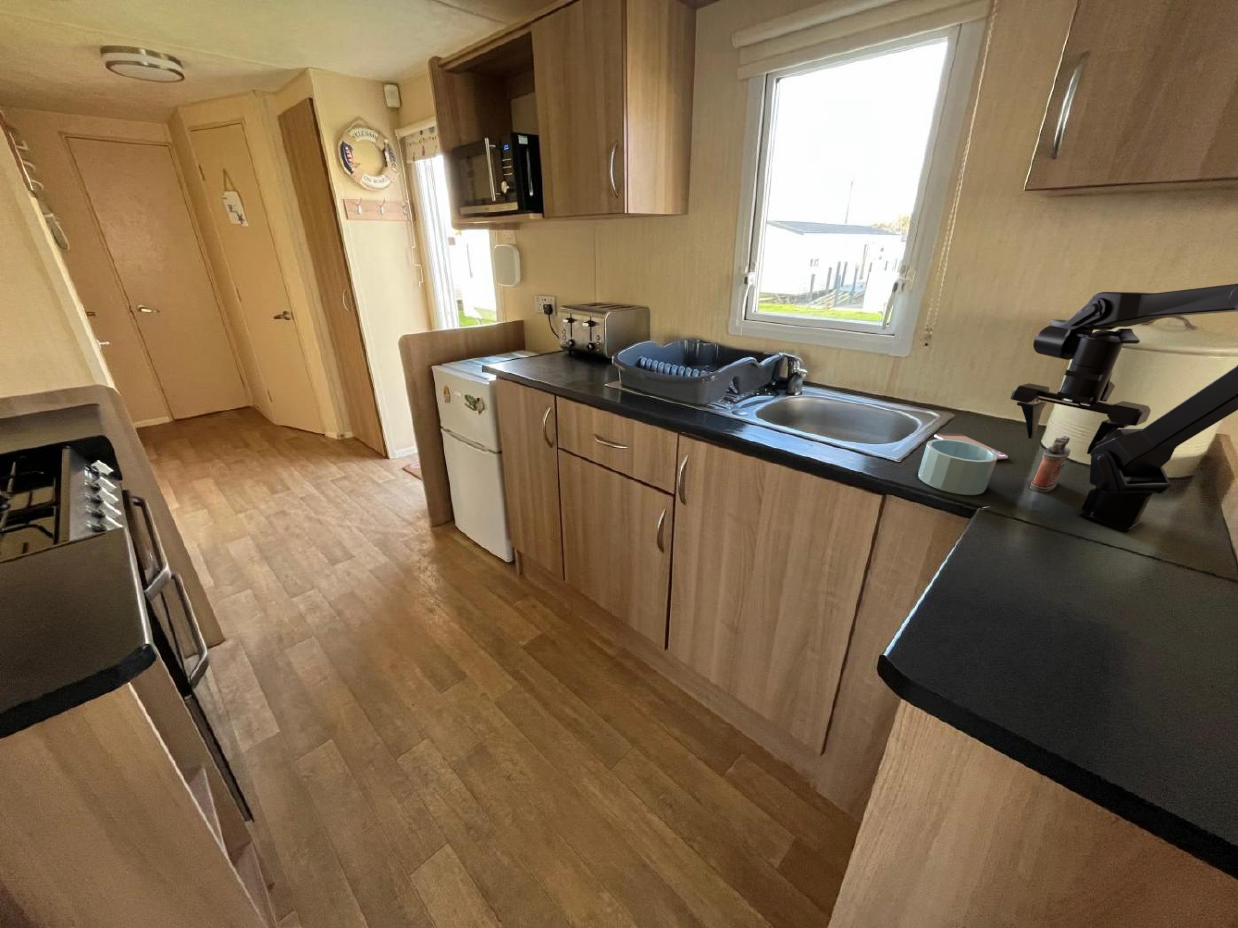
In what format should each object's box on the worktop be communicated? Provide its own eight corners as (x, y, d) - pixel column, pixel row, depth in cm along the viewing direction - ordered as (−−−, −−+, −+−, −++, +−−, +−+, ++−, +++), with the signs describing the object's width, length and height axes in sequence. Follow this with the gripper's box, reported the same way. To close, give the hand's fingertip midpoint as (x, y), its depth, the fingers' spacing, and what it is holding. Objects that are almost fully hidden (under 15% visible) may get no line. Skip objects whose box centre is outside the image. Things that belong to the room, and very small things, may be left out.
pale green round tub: (996, 486, 96) (1009, 454, 93) (966, 500, 91) (978, 466, 88) (937, 465, 105) (946, 435, 102) (906, 476, 100) (915, 445, 97)
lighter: (1046, 493, 94) (1067, 446, 90) (1025, 487, 96) (1044, 440, 92) (1060, 483, 98) (1080, 437, 94) (1039, 477, 101) (1058, 432, 97)
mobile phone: (959, 432, 122) (1011, 455, 108) (958, 435, 122) (1009, 459, 109) (932, 433, 121) (980, 456, 107) (931, 436, 121) (979, 460, 108)
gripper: (1178, 371, 84) (1138, 454, 90) (1048, 352, 99) (1022, 425, 105) (1157, 378, 79) (1116, 466, 85) (1023, 357, 93) (996, 433, 100)
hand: (1058, 445), depth 94 cm, fingers open, 9 cm apart
